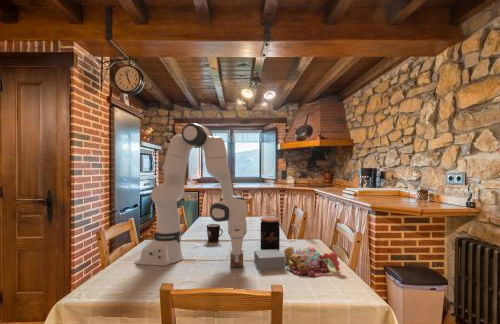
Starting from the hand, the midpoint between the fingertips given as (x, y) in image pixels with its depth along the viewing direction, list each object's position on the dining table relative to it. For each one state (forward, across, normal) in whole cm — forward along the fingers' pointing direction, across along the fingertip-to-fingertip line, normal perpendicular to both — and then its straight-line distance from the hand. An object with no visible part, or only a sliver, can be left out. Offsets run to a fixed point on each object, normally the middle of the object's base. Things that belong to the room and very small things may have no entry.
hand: (236, 258), depth 133 cm
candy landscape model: (+4, +2, +35) cm, 35 cm away
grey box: (+3, 0, +15) cm, 16 cm away
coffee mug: (+4, -43, -15) cm, 46 cm away
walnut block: (+3, 0, 0) cm, 3 cm away
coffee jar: (+3, -23, +18) cm, 30 cm away
